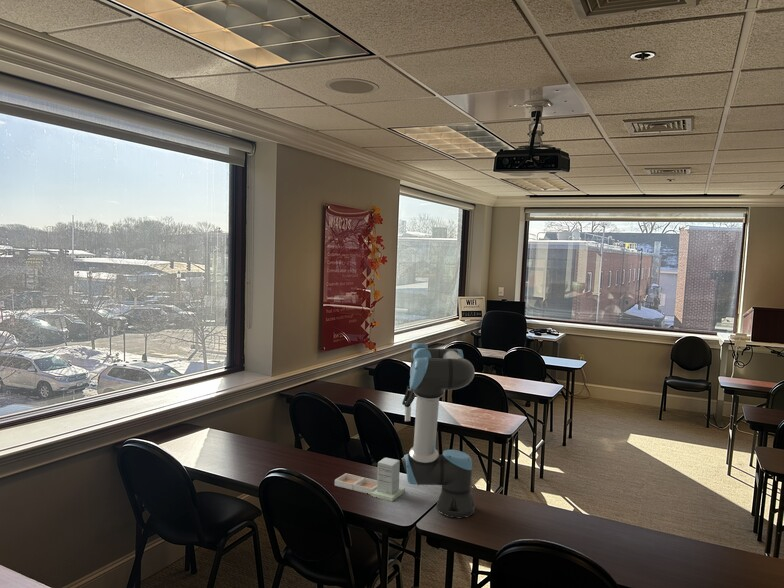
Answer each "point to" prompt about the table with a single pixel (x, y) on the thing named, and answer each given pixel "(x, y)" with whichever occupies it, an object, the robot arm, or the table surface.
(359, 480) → the track
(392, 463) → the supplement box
